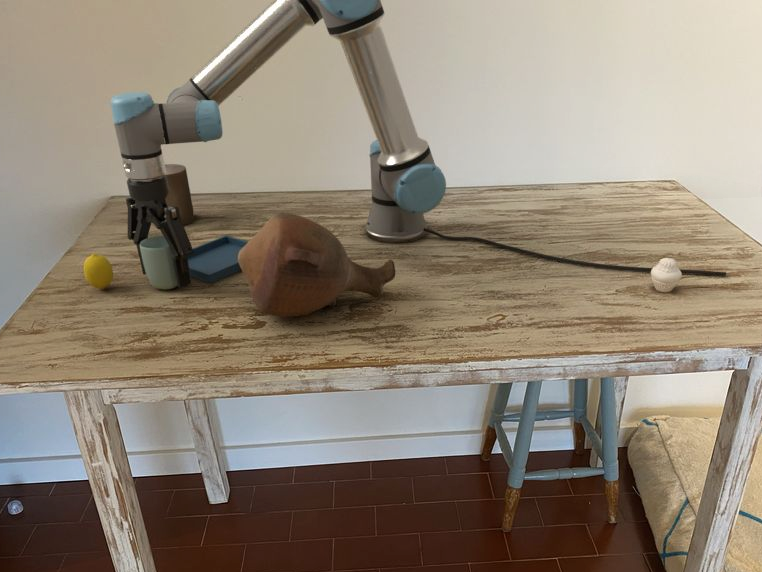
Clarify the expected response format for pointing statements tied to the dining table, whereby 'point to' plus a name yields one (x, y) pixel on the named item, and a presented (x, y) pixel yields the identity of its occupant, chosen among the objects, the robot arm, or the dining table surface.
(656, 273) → the muffin
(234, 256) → the tray
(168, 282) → the cup
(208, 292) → the dining table surface
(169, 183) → the pillar candle
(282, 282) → the jug
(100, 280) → the lemon
